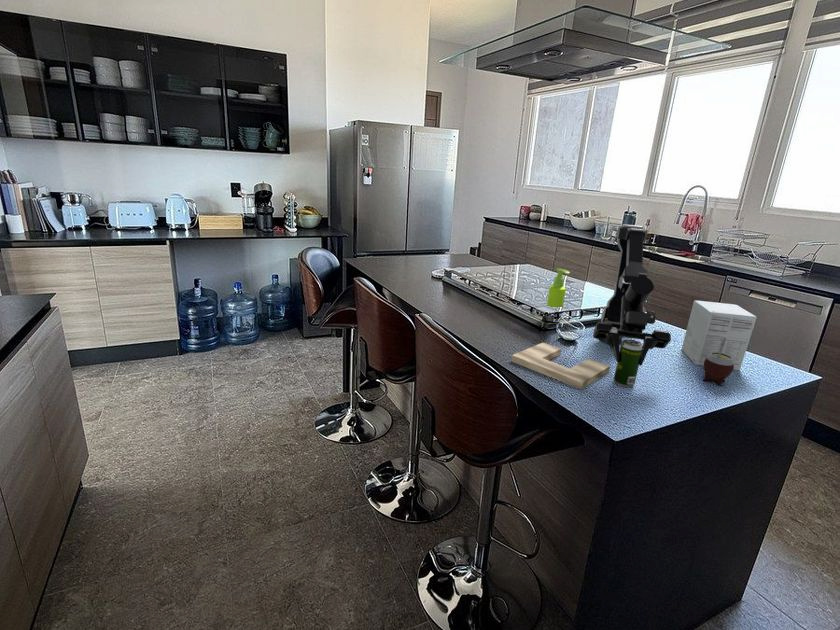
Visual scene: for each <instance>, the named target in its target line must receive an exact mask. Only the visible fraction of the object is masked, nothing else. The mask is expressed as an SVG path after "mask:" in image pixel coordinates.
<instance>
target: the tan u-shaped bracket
mask: <svg viewBox="0 0 840 630" xmlns="http://www.w3.org/2000/svg"><path fill="white" fill-rule="evenodd" d="M561 354H562V348H559V347H557V346H554V345H552V344H548V343H547V342H541V343H537V344H536V345H534V346H531V347H529V348H526V349H524V350H521V351H518V352H516V353H514V354H512V356H511V362H512V363H514V364H517V365H520V366H522V367H525V368H527V369H529V370H532V371H534V372H536V373H540V374H542V375H543V376H547V377H549V378H551V377H552V379H554V380H556V379H557V381H559V382H561V381H562V383H564V384H567V385H569V386H571V387H573V388H576V389H579V390H582V389H584V388H586V387H587V386H589V385H591V384H592V383H594V382H595V381H597V380H599V379H601V378H602V377H604V376H605V375H607V374H609V373H610V369H611V368H610V367H611V366H610V365H608V364H606V363H602V362H600V361H596V360H594V359H592V358H587V359H585V360H583V361H581V362H579V363H577V364H576V365H574V366H572V367H571V368H570V367H567V366H564V365H561V364H559V363H556V362H554V361H550V360H553V359H554V358H557V357H558V356H559V357H560V356H561Z"/></svg>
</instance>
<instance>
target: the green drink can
mask: <svg viewBox="0 0 840 630" xmlns="http://www.w3.org/2000/svg"><path fill="white" fill-rule="evenodd" d="M622 341H623V343H622V344H620V347H619V351H620V357H619V362H617V361H616V365H615V366H616V367H615V369H614V370H615V371H614V375H613V381H614V384H616V385H617V386H619V387H622V388H632V387H633V386H634V385H636V379H637V377H638V371H639V367H640V365H639V363H640V359H641V355H642V351H643V347H642V346H643V342H640V341H638V340H636V339H629V338H628V339H623V340H622Z"/></svg>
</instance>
